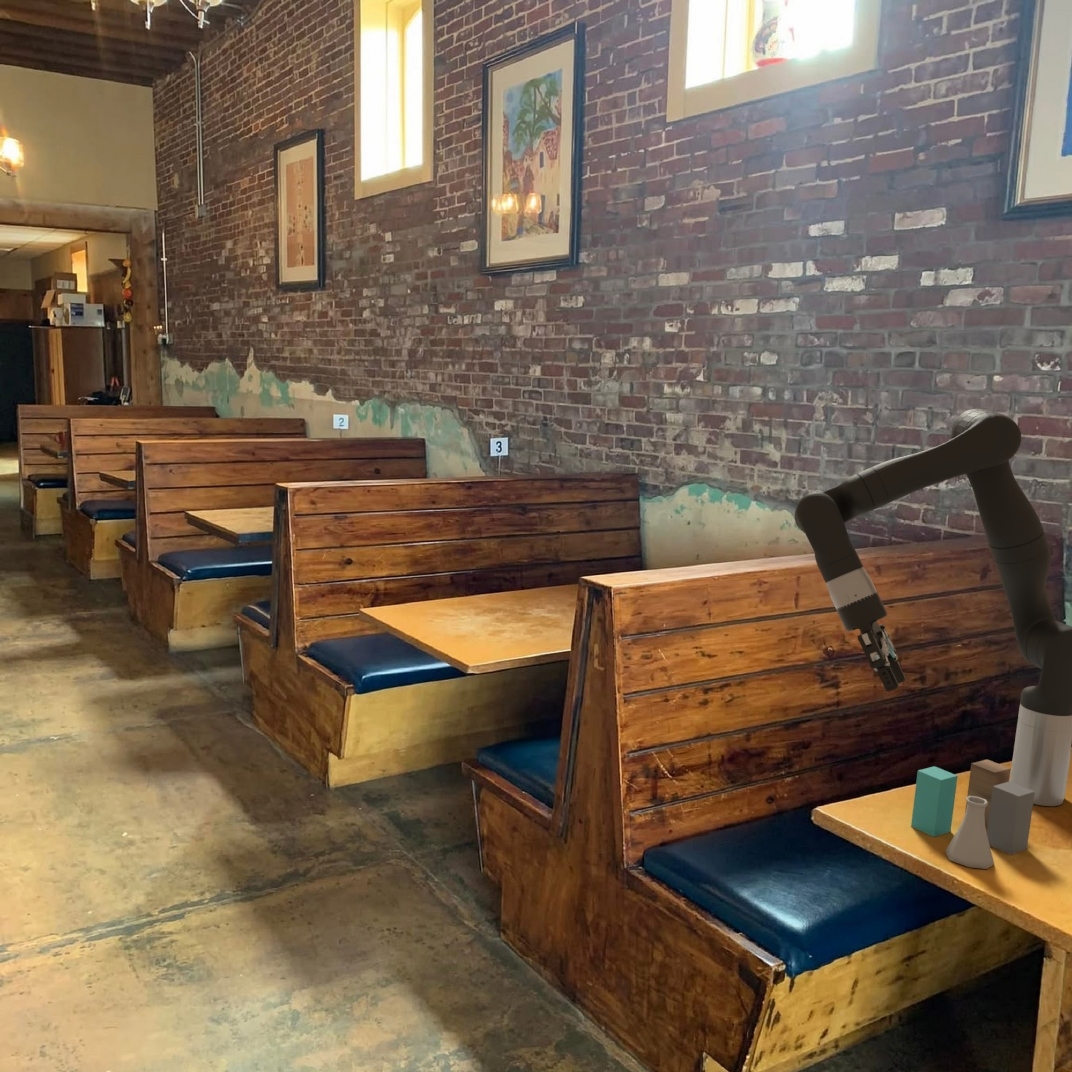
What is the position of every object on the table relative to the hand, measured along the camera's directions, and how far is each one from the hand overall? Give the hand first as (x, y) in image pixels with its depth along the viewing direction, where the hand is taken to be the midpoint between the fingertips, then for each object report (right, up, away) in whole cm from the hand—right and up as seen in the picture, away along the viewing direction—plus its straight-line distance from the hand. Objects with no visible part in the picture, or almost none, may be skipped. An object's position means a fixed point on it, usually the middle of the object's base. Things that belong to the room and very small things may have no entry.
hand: (896, 685), depth 170 cm
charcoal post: (+16, -25, -7) cm, 31 cm away
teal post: (+5, -24, -1) cm, 25 cm away
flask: (+7, -26, -12) cm, 29 cm away
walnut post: (+16, -24, +3) cm, 29 cm away
